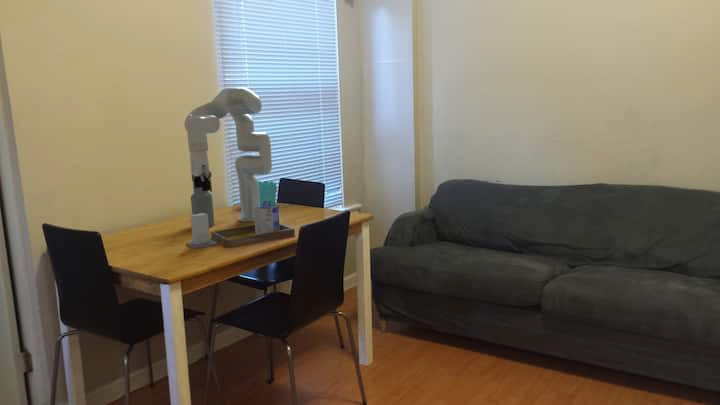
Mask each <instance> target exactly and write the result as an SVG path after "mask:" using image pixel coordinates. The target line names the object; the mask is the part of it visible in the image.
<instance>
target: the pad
mask: <svg viewBox="0 0 720 405" xmlns="http://www.w3.org/2000/svg"><path fill="white" fill-rule="evenodd" d="M185 245H186V246H187V247H189V248H191V249H192V250H198V249H199V250H200V249H204V248H210V247H215V246H218V242H217V241H215V240H213V239H212V238H210V242H207V243H203V244H199V245H197V244H194V243H193V241H188V242H185Z"/></svg>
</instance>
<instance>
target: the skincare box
mask: <svg viewBox="0 0 720 405" xmlns="http://www.w3.org/2000/svg"><path fill="white" fill-rule="evenodd" d="M189 218H190V226H191V236H192V238H191V239H192V242H193V243H194V244H197V245H199V244H203V243H207V242H210V239H211V237H210V236H211V232H210V227H209V223H208V214H205V213H200V214H195V215H192V214H190V216H189Z"/></svg>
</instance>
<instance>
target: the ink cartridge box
mask: <svg viewBox="0 0 720 405" xmlns="http://www.w3.org/2000/svg"><path fill="white" fill-rule="evenodd" d="M265 203H269V205H267V204H265ZM270 205H271V201H264V204H263V206H259V207H255V208H254V218H255V221H254V224H255V232H254V233H255V234H254V235H258V234H264V233H269V232H275V231H280V223H281V222H280V210H279V209H280V208H279V206H274V207H273V206H270Z"/></svg>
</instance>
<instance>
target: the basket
mask: <svg viewBox="0 0 720 405" xmlns="http://www.w3.org/2000/svg"><path fill="white" fill-rule="evenodd" d="M257 181H258V183H259V195H260V206H263V204H264V201H271V205H270V206H273V207H277V206H276V205H277V190H278V186H277V182H276V181H275V182H274V181H273V180H272V181H271V180H270V182H269V181H268V180H265V181H261V180H257ZM265 204H267V205H269V203H265Z"/></svg>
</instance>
